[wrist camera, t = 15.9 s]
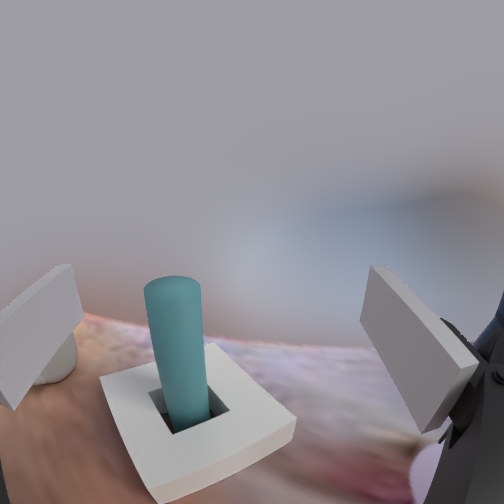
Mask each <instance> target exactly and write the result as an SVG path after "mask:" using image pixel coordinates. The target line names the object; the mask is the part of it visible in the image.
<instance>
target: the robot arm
mask: <svg viewBox="0 0 504 504" xmlns="http://www.w3.org/2000/svg"><path fill="white" fill-rule="evenodd" d="M83 318H84V313H83V309H82V306H81V302H80V298H79V295H78V291H77V287H76V283H75V278H74V274H73V269H72V265H71V264H59V265H57V266H56V267H55V268H53V269H52V270H51V271H49V272H48V273H47V274H45V275H44V276H43V277H41V278H40V279H39V280H38V281H36V282H35V283H34V284H33V285H32V286H30V287H29V288H28V289H26V290H25V291H24V292H23V293H22V294H20V295H19V296H18V297H17V298H15V299H14V300H13V301H12V302H11V303H10V304H8V305H7V306H6V307H5V308H4V309H3V310H1V311H0V403H1V404H2V405H3V406H5V407H7V408H9V409H11V410H13V411H15V410H16V408H17V407H18V405H19V404H20V402H21V401H22V399H23V398H24V396H25V395H26V393H27V392H28V390H29V389H30V387H31V386H32V384H33V383H34V382H35V380H36V379H37V377H38V376H39V375H40V373H41V372H42V370H43V369H44V368H45V366H46V365H47V364H48V362H49V361H50V360H51V358H52V357H53V356H54V354H55V353H56V352H57V350H58V349H59V348H60V346H61V345H62V344H63V342H64V341H65V340H66V339H67V337H68V336H69V335H70V334H71V332H72V331H73V330H74V329H75V327H76V326H77V325H78V324H79V322H80V321H81V320H82V319H83ZM360 322H361V324H362V326H363V327H364V329H365V331H366V332H367V334H368V336H369V338H370V339H371V341H372V343H373V345H374V346H375V348H376V350H377V352H378V353H379V355H380V357H381V359H382V360H383V362H384V364H385V366H386V368H387V369H388V371H389V373H390V375H391V377H392V378H393V380H394V382H395V384H396V386H397V388H398V389H399V391H400V393H401V395H402V397H403V399H404V401H405V403H406V405H407V407H408V408H409V410H410V412H411V414H412V416H413V418H414V420H415V422H416V424H417V426H418V428H419V430H420V432H421V434H422V433H425V432H428V431H431V430H434V429H437V428H439V427H441V425H442V424H443V422H444V421H445V419H446V418H447V417H448V415H449V417H450V418H451V420H452V423H451V425H450V426H449V427H448V429H447V430H446V432H445V433H444V434H443V435H442V437H441V438H440V440H439V442H438V443H439V444H441V442H442V441H443V440H444V439H445V438H446V439H445V443H444V447H443V450H442V454H441V457H440V460H439V463H438V466H437V469H436V472H435V475H434V478H433V481H432V483H431V486H430V489H429V491H428V494H427V496H426V499H425V501H424V503H423V504H504V292H503V295H502V298H501V301H500V304H499V307H498V309H497V312H496V314H495V317H494V318H493V320H492V321H491V322H490V324H489V325H488V326H487V327H486V329H485V330H484V331H483V333H482V334H481V335H480V336H479V337H478V338H477V340H476V341H475V343H474V346H472V345H471V344H470V343H469V342H467V339H466V338H465V337H464V336H463V335H460V332H459V331H458V330H457V329H456V328H455V327H454V326H453V325H452V324H451V323H449V322H447V321H446V320H444V319H442V318H439V317H438V316H437V315H436V314H435V313H434V312H433V311H432V310H431V309H430V308H429V307H428V306H427V305H426V304H425V303H424V302H423V301H422V300H421V299H420V298H419V297H418V296H417V295H416V294H415V293H414V292H413V291H412V290H411V289H410V288H409V287H408V286H407V285H406V284H405V283H404V282H403V281H402V280H401V279H400V278H399V277H398V276H397V275H396V274H395V273H394V272H392V271H391V270H390V269H389V268H388V267H387V266H386V265H371V266H370V271H369V276H368V282H367V287H366V293H365V298H364V303H363V308H362V312H361V317H360ZM0 504H10V501H9V498H8V494H7V490H6V486H5V481H4V477H3V472H2V466H1V461H0Z"/></svg>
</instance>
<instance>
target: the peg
mask: <svg viewBox="0 0 504 504" xmlns="http://www.w3.org/2000/svg"><path fill="white" fill-rule="evenodd" d="M144 296H145V303H146V310H147V316H148V322H149V328H150V334H151V339H152V344H153V350H154V355H155V360H156V364H157V369H158V374H159V378H160V382H161V387H162V391H163V395H164V399H165V403H166V407H167V410H168V414H169V418H170V421H171V425H172V428H173V431H174V433H175V434H176V433H178V432H181V431H183V430H186V429H189V428H191V427H194V426H196V425H198V424H201V423H203V422H206V421H208V420H210V419H211V418H210V409H209V399H208V389H207V378H206V367H205V354H204V341H203V327H202V309H201V291H200V284H199V283H198V282H197V281H196V280H194V279H192V278H188V277H183V276H169V277H162V278H159V279H155V280H153V281H151V282H149V283H148V284H147V285H146V286H145V287H144Z"/></svg>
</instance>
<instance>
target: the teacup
mask: <svg viewBox="0 0 504 504" xmlns="http://www.w3.org/2000/svg"><path fill="white" fill-rule="evenodd" d="M76 362H77V348H76V343H75V338H74V334H73V331H72V332H71V334H70V335H69V336H68V337H67V339H66V340H65V341H64V342H63V344H62V345H61V346H60V348H59V349H58V350H57V352H56V353H55V354H54V356H53V357H52V358H51V360H50V361H49V362H48V364H47V365H46V366H45V368H44V369H43V370H42V372H41V373H40V375H39V376H38V377H37V379H36V380H35V382H34V383H33V384H32V386H35V385H39V384H40V385H43V384H45V383H55V382H58V381H60V380H62V379H64V378H65V377H66V376H67V375H68V374H69V373H70V372H71V371H72V370H73V369H74V367H75V365H76Z"/></svg>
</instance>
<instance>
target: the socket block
mask: <svg viewBox="0 0 504 504" xmlns="http://www.w3.org/2000/svg"><path fill="white" fill-rule="evenodd" d="M204 354H205V367H206V378H207V389H208V399H209V408H210V409H211V410H212V412H213V413H214V414H215V415H216V417H215V418H213V419H210V420H208V421H206V422H203V423H201V424H198V425H196V426H194V427H191V428H189V429H186V430H183V431H181V432H178V433H176V434H173V435H172V433H171V432H170V430H169V428H168V427H167V425H166V424H165V422H164V420H163V419H162V417H161V415H162V414H164V413H167V412H168V410H167V407H166V403H165V399H164V395H163V391H162V387H161V382H160V378H159V374H158V369H157V364H156V361H154V362H150V363H147V364H144V365H140V366H137V367H133V368H130V369H126V370H123V371H119V372H116V373H112V374H108V375H104V376H101V377H99V378H100V381H101V384H102V387H103V390H104V393H105V396H106V399H107V402H108V404H109V407H110V410H111V412H112V415H113V418H114V420H115V423H116V425H117V428H118V430H119V432H120V435H121V437H122V439H123V442H124V444H125V446H126V448H127V450H128V453H129V455H130V457H131V459H132V461H133V463H134V465H135V467H136V469H137V471H138V473H139V475H140V477H141V479H142V481H143V482H144V484H145V486H146V488H147V490H148V491H149V492H150V494H151V495H152V497H153V498H154V499H155V500H156V502H157V503H158V504H165V503H168V502H171V501H173V500H176V499H179V498H181V497H184V496H186V495H189V494H191V493H194V492H196V491H198V490H201V489H203V488H205V487H208V486H210V485H212V484H214V483H216V482H219V481H221V480H223V479H225V478H227V477H229V476H231V475H233V474H235V473H237V472H239V471H241V470H243V469H244V468H246V467H248V466H250V465H252V464H254V463H255V462H257V461H259V460H261V459H262V458H264V457H266V456H268V455H269V454H271V453H273V452H274V451H276V450H278V449H279V448H281V447H282V446H284V445H286V444H287V443H289V442H290V441H292V437H293V433H294V429H295V425H296V421H297V417H296V416H294V415H293V414H292V413H291V412H290V411H288V410H287V409H286V408H285V407H284V406H283V405H281V404H280V403H279V402H278V401H277V400H276V399H275V398H273V397H272V396H271V395H270V394H269V393H268V392H267V391H266V390H264V389H263V388H262V387H261V386H260V385H259V384H258V383H257V382H256V381H255V380H254V379H252V378H251V377H250V376H249V375H248V374H247V373H246V372H245V371H244V370H243V369H242V368H241V367H240V366H239V365H238V364H237V363H235V362H234V361H233V360H232V359H231V358H230V357H229V356H228V355H227V354H226V353H225V352H224V351H223V350H222V349H221V348H220V347H219V346H218V345H217V344H216V343H215V342H212V343H209V344H206V345H204Z"/></svg>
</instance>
